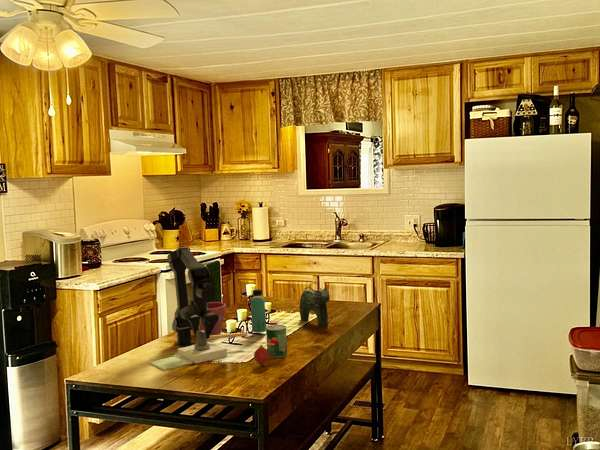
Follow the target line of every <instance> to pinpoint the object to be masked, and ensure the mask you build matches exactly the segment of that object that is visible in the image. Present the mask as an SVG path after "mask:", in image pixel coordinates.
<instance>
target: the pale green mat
mask: <svg viewBox="0 0 600 450" xmlns="http://www.w3.org/2000/svg"><path fill="white" fill-rule="evenodd" d="M148 364H149V365H151V366H153V367H156V368H159V369H160V370H161V371H167V370H171V369H175V368H180V367H184V366H189V365H191V364H193V362H191V361H189V360H186V359H184V358H182V357H179V356H178V355H174V356H171V357H170V356H169V357H166V358H162V359H161V358H160V359H158V360H152V361H149V363H148Z"/></svg>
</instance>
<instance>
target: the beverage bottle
mask: <svg viewBox="0 0 600 450" xmlns="http://www.w3.org/2000/svg"><path fill="white" fill-rule="evenodd" d="M261 295H263V291H262V289H259V288H258V289H253V290H252V296H254V297H252V298H250V309H251V310H250V311H251V312H250V313H251V314H250V315H251V316H250V318H251V330H252V332H253V333H256V334H257V333H264V332H266V327H267V317H266V316H267V315H266V301H265V298H264V297H262V296H261Z"/></svg>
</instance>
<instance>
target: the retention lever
mask: <svg viewBox="0 0 600 450" xmlns="http://www.w3.org/2000/svg"><path fill="white" fill-rule="evenodd" d="M238 337H240V338H241V337H248V332H247V331H246V332H237V333H235V332H234V333H225V334H216V335H210V337H209V339H207V341H208V340H218V339H219V340H220V339H228V338H230V339H231V338H238Z"/></svg>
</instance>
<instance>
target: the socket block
mask: <svg viewBox="0 0 600 450" xmlns="http://www.w3.org/2000/svg"><path fill="white" fill-rule="evenodd" d="M207 343H209V344H210V348H209V349H207V350H203V351H198V350H195V348H194V345H195V344H192V345H187V346H185V347H184V346H183V347H180V348H179V347H178V348H177V354H178V355H177V356H180V357H182V358H184V359H186V360H189V361H191V362H192V363H194V364H200V363H203V362H208V361H211V360H212V361H213V360H216V359H220V358H219V357H221V358H224V357H223V356H225V357H227V356H228V350H227V349H228V348H226V347H223V346H222V345H217V344H216V343H212V342H209V341H207ZM215 358H216V359H215Z"/></svg>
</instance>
